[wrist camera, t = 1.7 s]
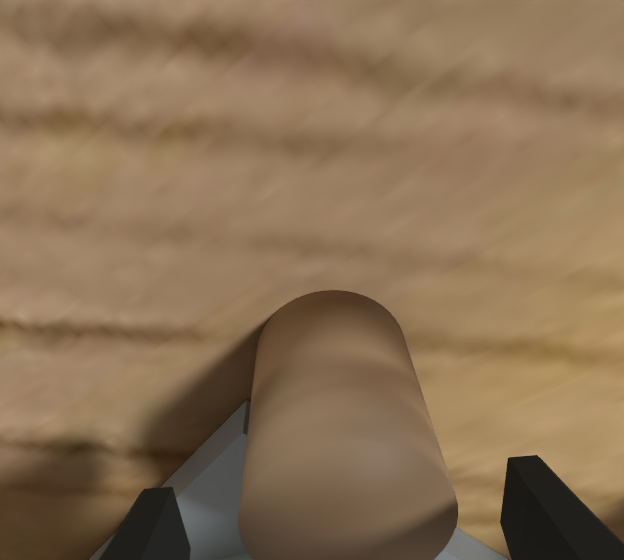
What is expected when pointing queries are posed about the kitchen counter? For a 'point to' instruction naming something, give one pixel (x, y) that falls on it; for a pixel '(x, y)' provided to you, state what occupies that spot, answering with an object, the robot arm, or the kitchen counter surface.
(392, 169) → the kitchen counter surface
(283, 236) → the kitchen counter surface
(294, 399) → the walnut cylinder
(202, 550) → the base
